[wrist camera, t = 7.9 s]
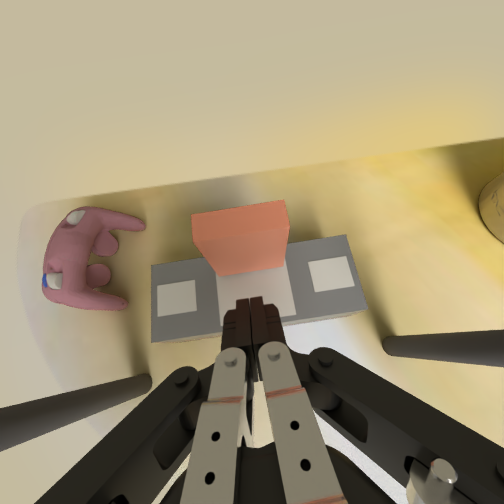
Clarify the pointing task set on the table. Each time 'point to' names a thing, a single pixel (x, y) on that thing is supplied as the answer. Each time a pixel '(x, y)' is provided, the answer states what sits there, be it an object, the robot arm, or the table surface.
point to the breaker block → (255, 290)
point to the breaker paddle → (243, 237)
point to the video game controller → (84, 258)
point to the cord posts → (116, 392)
